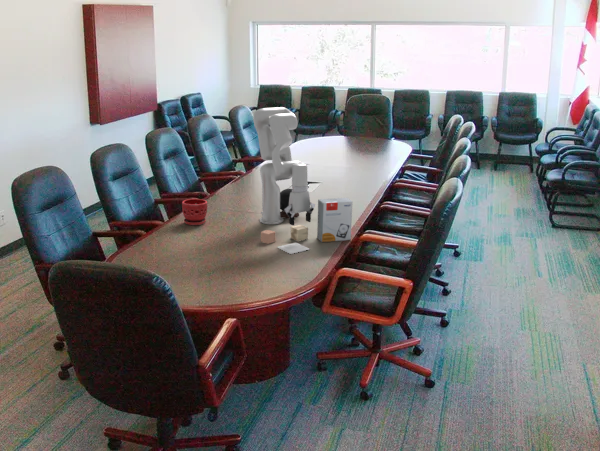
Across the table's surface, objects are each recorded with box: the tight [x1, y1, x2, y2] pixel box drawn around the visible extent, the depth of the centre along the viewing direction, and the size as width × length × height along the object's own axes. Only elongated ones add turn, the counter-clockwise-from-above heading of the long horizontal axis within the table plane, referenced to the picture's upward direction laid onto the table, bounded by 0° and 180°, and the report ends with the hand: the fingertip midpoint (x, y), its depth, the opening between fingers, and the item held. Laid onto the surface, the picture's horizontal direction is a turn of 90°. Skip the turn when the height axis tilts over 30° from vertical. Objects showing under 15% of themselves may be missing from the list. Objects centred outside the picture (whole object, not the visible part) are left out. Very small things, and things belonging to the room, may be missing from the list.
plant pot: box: [181, 198, 208, 226], centre depth 346 cm, size 13×13×12 cm
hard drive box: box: [316, 197, 353, 243], centre depth 321 cm, size 16×8×20 cm, turn 105°
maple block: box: [290, 224, 309, 242], centre depth 323 cm, size 6×6×6 cm
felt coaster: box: [276, 242, 311, 255], centre depth 309 cm, size 11×11×1 cm
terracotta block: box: [260, 229, 276, 245], centre depth 319 cm, size 5×5×5 cm
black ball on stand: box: [280, 188, 300, 219], centre depth 360 cm, size 13×13×15 cm
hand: (300, 223), depth 321 cm, fingers open, 9 cm apart
